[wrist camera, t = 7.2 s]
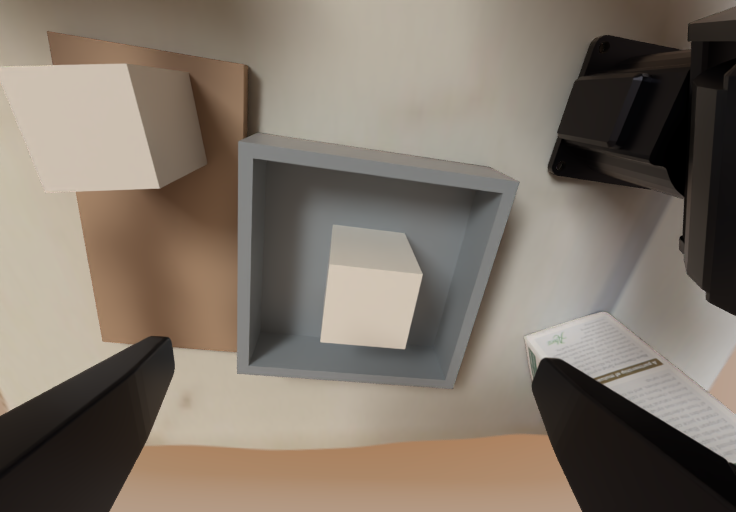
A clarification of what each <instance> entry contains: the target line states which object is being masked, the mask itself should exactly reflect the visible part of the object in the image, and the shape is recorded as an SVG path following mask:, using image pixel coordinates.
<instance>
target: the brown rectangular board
mask: <svg viewBox="0 0 736 512" xmlns="http://www.w3.org/2000/svg"><path fill="white" fill-rule="evenodd" d="M47 34H48V40H49V45H50V51H51V57H52V62H53V65H83V64H133V65H140V66H147V67H154V68H161V69H168V70H175V71H183V72H189V77H190V82H191V86H192V91H193V96H194V101H195V106H196V111H197V116H198V121H199V125H200V130H201V135H202V140H203V145H204V150H205V155H206V159H207V165H205V166H203V167H201V168H199V169H197V170H195V171H193V172H191V173H189V174H187V175H185V176H183V177H181V178H179V179H177V180H175V181H173V182H171V183H170V184H168V185H166V186H164V187H162V188H160V189H133V190H107V191H80V192H76V196H77V201H78V207H79V213H80V218H81V224H82V229H83V235H84V241H85V246H86V252H87V257H88V263H89V268H90V274H91V280H92V285H93V291H94V296H95V302H96V307H97V313H98V319H99V324H100V330H101V335H102V341H103V342H114V343H127V344H136V343H138V342H139V341H141V340H143V339H145V338H147V337H149V336H166V337H169V338H170V339H171V341H172V347H179V348H192V349H204V350H217V351H230V352H237V284H238V141H240V140H242V139H244V138H247V117H248V66H247V65H244V64H238V63H232V62H226V61H220V60H215V59H209V58H203V57H197V56H191V55H185V54H179V53H173V52H167V51H161V50H156V49H150V48H144V47H138V46H132V45H126V44H120V43H114V42H108V41H102V40H97V39H91V38H85V37H79V36H73V35H67V34H61V33H55V32H49V31H47Z"/></svg>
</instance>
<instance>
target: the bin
mask: <svg viewBox="0 0 736 512" xmlns="http://www.w3.org/2000/svg"><path fill="white" fill-rule="evenodd" d="M518 185H519V181H517V180H515V179H513V178H511V177H509V176H507V175H505V174H503V173H501V172H499V171H497V170H495V169H493V168H491V167H486V166H479V165H473V164H466V163H459V162H452V161H446V160H439V159H432V158H425V157H419V156H412V155H405V154H398V153H392V152H385V151H378V150H372V149H365V148H358V147H351V146H345V145H338V144H331V143H324V142H318V141H311V140H304V139H297V138H291V137H284V136H277V135H271V134H264V133H256V134H253V135H251V136H249V137H247V138H244V139H242V140H240V141H238V284H237V374H249V375H263V376H277V377H291V378H305V379H319V380H333V381H348V382H362V383H376V384H390V385H404V386H418V387H432V388H446V389H453V387H454V384H455V381H456V378H457V375H458V372H459V369H460V365H461V362H462V359H463V356H464V353H465V350H466V347H467V344H468V341H469V338H470V334H471V331H472V328H473V325H474V322H475V319H476V316H477V313H478V310H479V307H480V303H481V300H482V297H483V294H484V291H485V288H486V285H487V282H488V279H489V275H490V272H491V269H492V266H493V263H494V260H495V257H496V254H497V251H498V248H499V244H500V241H501V238H502V235H503V232H504V229H505V226H506V223H507V220H508V217H509V213H510V210H511V207H512V204H513V201H514V198H515V195H516V192H517V189H518ZM333 225H342V226H350V227H358V228H366V229H374V230H382V231H391V232H399V233H405V235H406V237H407V240H408V242H409V244H410V246H411V249H412V251H413V253H414V255H415V258H416V260H417V262H418V265H419V267H420V269H421V271H422V274H423V276H422V280H421V284H420V288H419V293H418V297H417V301H416V305H415V309H414V314H413V318H412V322H411V326H410V330H409V335H408V339H407V343H406V347H405V349H395V348H383V347H371V346H359V345H347V344H335V343H323V342H320V338H321V328H322V317H323V307H324V296H325V286H326V278H327V269H328V261H329V252H330V244H331V235H332V227H333Z"/></svg>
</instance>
